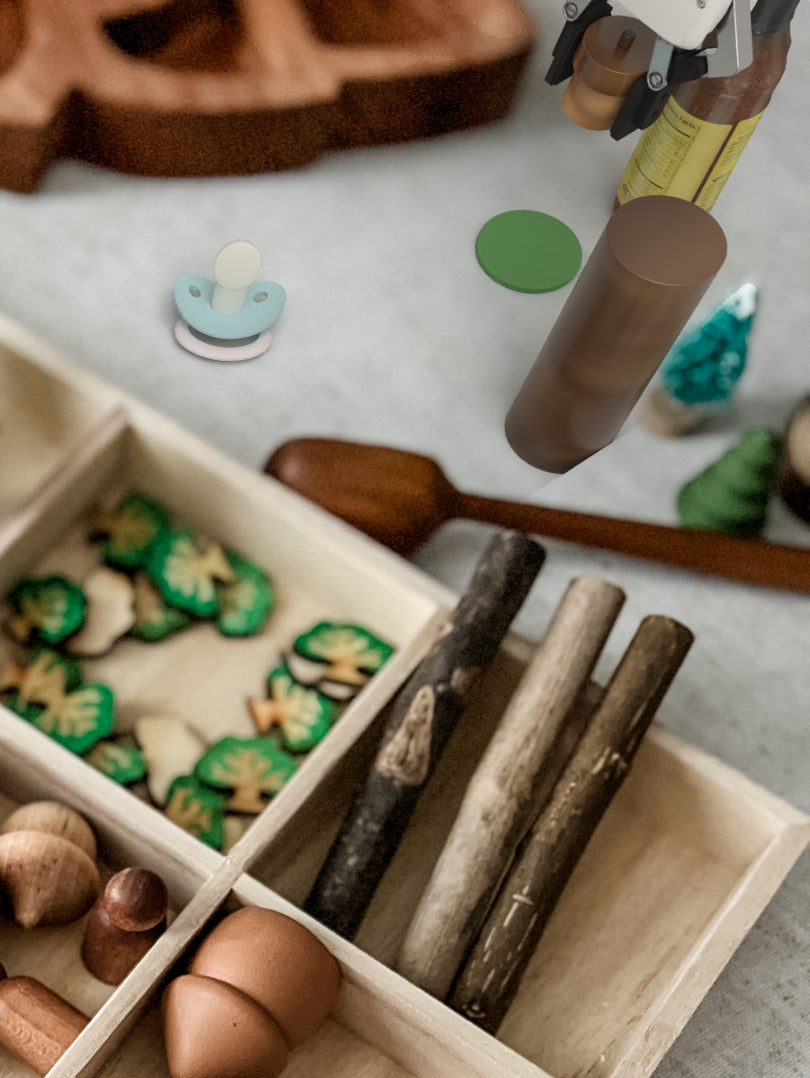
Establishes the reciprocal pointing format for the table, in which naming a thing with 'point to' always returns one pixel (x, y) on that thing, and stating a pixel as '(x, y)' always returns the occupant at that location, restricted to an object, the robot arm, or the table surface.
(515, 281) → the coaster
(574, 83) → the stemmed brown cap
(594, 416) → the brown cylinder
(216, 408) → the table surface
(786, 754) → the table surface
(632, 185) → the sauce bottle
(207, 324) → the pacifier
